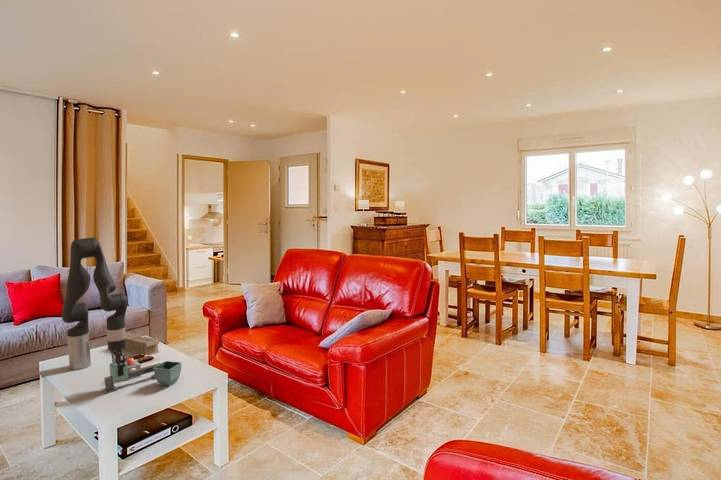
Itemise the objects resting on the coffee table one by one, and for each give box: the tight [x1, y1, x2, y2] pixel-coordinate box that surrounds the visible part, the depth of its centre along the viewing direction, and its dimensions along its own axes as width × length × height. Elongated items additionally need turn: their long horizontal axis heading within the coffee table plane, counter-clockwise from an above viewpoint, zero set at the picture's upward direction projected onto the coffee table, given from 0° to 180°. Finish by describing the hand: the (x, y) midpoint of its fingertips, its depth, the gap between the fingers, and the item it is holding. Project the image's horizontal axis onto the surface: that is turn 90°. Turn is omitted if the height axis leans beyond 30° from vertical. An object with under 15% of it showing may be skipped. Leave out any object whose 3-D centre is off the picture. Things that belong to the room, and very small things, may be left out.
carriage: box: [109, 361, 128, 383], centre depth 189 cm, size 5×6×7 cm
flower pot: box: [154, 360, 182, 387], centre depth 192 cm, size 9×9×9 cm
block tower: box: [122, 332, 160, 356], centre depth 238 cm, size 8×8×29 cm
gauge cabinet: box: [124, 360, 142, 381], centre depth 201 cm, size 7×7×6 cm
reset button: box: [125, 357, 135, 366], centre depth 201 cm, size 3×3×4 cm
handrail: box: [101, 362, 161, 395], centre depth 194 cm, size 5×26×6 cm, turn 134°
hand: (119, 373), depth 189 cm, fingers closed on carriage, 5 cm apart
